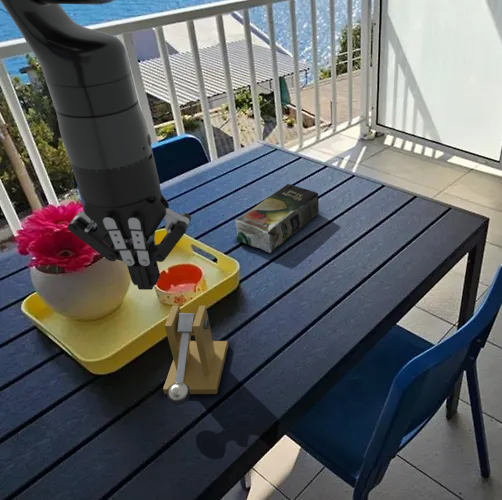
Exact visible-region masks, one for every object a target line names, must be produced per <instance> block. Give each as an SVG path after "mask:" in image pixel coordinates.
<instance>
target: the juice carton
mask: <svg viewBox="0 0 502 500" xmlns="http://www.w3.org/2000/svg"><path fill="white" fill-rule="evenodd" d="M319 212H320V209H319V193H318V192H316V191H313V190H310V189H307V188H303V187H299V186H296V185H294V184H290V183H286V184H285V185H284V186H282V187H281V188H280V189H279V190H276V191H275V192H274V193H273V194H271V195H269V196H268V197H267V198H265V199H263V200H262V201H261V202H260V203H258V204H257V205H255V206H254V207H253V208H251V209H249V210H248V211H246V212H245V213H244V214H242V215H241V216H239V217H238V218H236V219H235V226H236V241H237V242H238V243H243V244H246V245H249V246H251V247H253V248H256V249H260V250H262V251H265V252H267V253H269V254H271V253H272V252H274V251H275V250H276V249H277V247H280V246H281V245H282V244H283V243H284V242H286V240H288V239H289V238H290V237H291V236H292V235H294V234H295V233H297V232H298V231H299V230H300V229H302V227H304V226H306V225H307V223H309V222H311V220H313V219H314V218H315V217H317V215H318V214H319Z"/></svg>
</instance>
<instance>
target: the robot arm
mask: <svg viewBox="0 0 502 500" xmlns="http://www.w3.org/2000/svg"><path fill="white" fill-rule="evenodd" d="M115 1H116V0H0V3H1V4H2V6H3V8H4V9H5V11H6V13H8V15H9V17H10V18H11V19H12V21H13V22H14V25H15V26H16V27H17V29H18V30H19V32H20V33H21V35H22V37H23V39H24V40H25V42H26V44H27V45H28V47H29V48H30V50H31V52H32V53H33V55H34V56H35V58H36V60H37V61H38V63H39V65H40V67H41V70H42V73H43V77H44V80H45V83H46V86H47V89H48V92H49V95H50V97H51V101H52V104H53V107H54V109H55V113H56V117H57V118H56V119H57V122H58V130H59V133H60V137H61V140H62V143H63V146H64V150H65V152H66V155H67V158H68V161H69V164H70V168H71V170H72V173H73V176H74V179H75V181H76V185H77V188H78V190H79V194H80V196H81V198H82V200H83V201H84V202H83V205H82V211H78V212H77V213H76V215H74V217H73V219H72V220H71V221H70V222H69V223H68V224H67V229H68V231H69V232H70V233H72V234H73V235H74V236H76V237H77V238H79V239H80V240H81V241H82V242H84V243H85V244H86V245H88V246H89V247H90V248H91V249H93V250H94V251H96V252H97V253H98V254H99V255H101V256H102V257H104V258H105V259H106V260H107V261H109V262H115V261H121V262H123V264H124V265H125V266H126V268H127V270H128V274H129V277H130V280H131V282H132V284H133V285H134V286H137V288H138V290H140V291H142V290H145V291H146V290H147V291H149V290H153V289H154V287H155V286H156V285H157V283H158V282H159V279H160V276H161V272H160V269H159V265H158V263H162V262H164V261H165V260H166V259H167V257H168V256H169V255H170V253H171V252H172V251H173V250H174V248H175V247H176V245H177V244H178V243H179V241H180V240H181V239H182V238H183V236H184V235H185V234H186V232H187V229H188V227H189V225H190V223H191V221H192V216H191V215H190V214H189V213H187V212H182V213H181V214H180V213H178V212H176V211H175V210H173V209H172V208H170V204H169V202H168V200H167V198H166V197H165V196H164V195H163V193H162V190H161V182H160V178H159V174H158V169H157V165H156V160H155V156H154V152H153V148H152V137H151V134H150V133H149V130H148V126H147V122H146V119H145V116H144V114H143V110H142V107H141V104H140V102H139V99H138V95H137V90H136V86H135V81H134V76H133V73H132V68H131V64H130V60H129V56H128V55H129V54H128V53H127V52H128V51H127V49H126V47H125V45H124V43H123V42H122V41H121V39H119V38H118V37H116V36H115V35H113V34H110V33H107V32H104V31H99V30H96V29H92V28H89V27H85V26H83V25H80V24H78V23H76V22H75V21H74V20H73V19H72V18H71V17H70V16H69V15H68V14H67V12H66V11H65V9H64V8H63V7H62V5H90V6H91V5H94V6H95V5H97V6H98V5H106V4H111V3H112V2H115ZM162 221H165V225H164V228H165V230H166V234H165V236H164V237H162V239H161V241H160V242H159V243H157V244H156V240H155V236H156V231H157V230H158V228H159V226H160V225H161V223H162Z"/></svg>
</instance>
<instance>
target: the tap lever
mask: <svg viewBox="0 0 502 500" xmlns="http://www.w3.org/2000/svg"><path fill="white" fill-rule="evenodd" d="M195 317H196V314H195V313H194V312H181V313H179V320H178V327H177V332H178V333H180V334H181V335H182V336H181V344H180V351H179V359H178V366H177V374H176V381H175V383H173V384H172V385H171V386H170V387H169V388H168V390H167V394H166V398H167V400H168V402H169V403H170V404H172V405H175V406H180V405H183V404H185V403H186V402H188V401H189V399H190V397H191V395H192V394H191V390H190V387H189V386H188V385H187V384H186V383H185V378H186V370H187V362H188V354H189V346H190V341H191V337H192V336H195V335H194V330H193V323H194V320H195Z"/></svg>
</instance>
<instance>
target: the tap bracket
mask: <svg viewBox="0 0 502 500" xmlns="http://www.w3.org/2000/svg"><path fill="white" fill-rule="evenodd" d="M179 313H182V312H181V307H180V305H174V304H173V305H171V308H170V311H169V314H168V316H167V319H166V322H165V324H164V329H165V333H166V337H167V340H168V341H167V342H168V345H169V349H170V351H171V354H172V358H173V360H172V362H171V364H170V367H169V370H168V372H167V373H168V374H167V377H166V379H165V383H164V385H163V388H162V390H163V394H164V395H167V390H168V388H169V387H170V386H171V385H172V384H173V383H175V381H176V374H177V366H178V359H179V351H180V344H181V336H182V335H181V334H180V333H178V332H177V327H178V320H179ZM195 315H196V317H195V320H194V323H193V330H194V335H193V336H194V339H195V340H190V346H189V354H188V362H187V370H186V378H185V383H186V384H187V385H188V386H189V387H190V390H191V394H190V395H217V394H218V391H219V386H220V382H221V378H222V374H223V370H224V366H225V362H226V357H227V354H228V349H229V342H228V340H213V335H212V331H211V330H212V329H211V325H210V321H209V319H210V318H209V314H208V310H207V305H199V306H198V308H197V312H196V314H195Z"/></svg>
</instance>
